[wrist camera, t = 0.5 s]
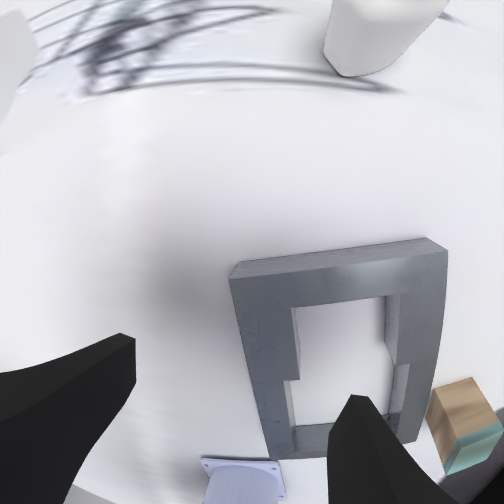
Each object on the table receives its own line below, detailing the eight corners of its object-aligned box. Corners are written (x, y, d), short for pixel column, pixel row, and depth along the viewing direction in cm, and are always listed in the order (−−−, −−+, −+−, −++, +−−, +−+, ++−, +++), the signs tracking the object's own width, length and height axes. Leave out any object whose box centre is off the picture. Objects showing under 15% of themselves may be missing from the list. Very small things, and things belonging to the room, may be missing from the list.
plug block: (461, 407, 19) (486, 459, 13) (425, 418, 20) (445, 475, 13) (471, 376, 18) (504, 429, 12) (434, 388, 19) (461, 448, 12)
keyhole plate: (408, 417, 20) (415, 441, 17) (273, 434, 22) (270, 459, 19) (427, 237, 16) (448, 250, 13) (239, 261, 18) (228, 279, 15)
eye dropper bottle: (315, 19, 13) (324, -124, 2) (399, 24, 13) (478, -83, 1) (325, 78, 15) (365, -56, 3) (413, 82, 14) (534, 3, 2)
